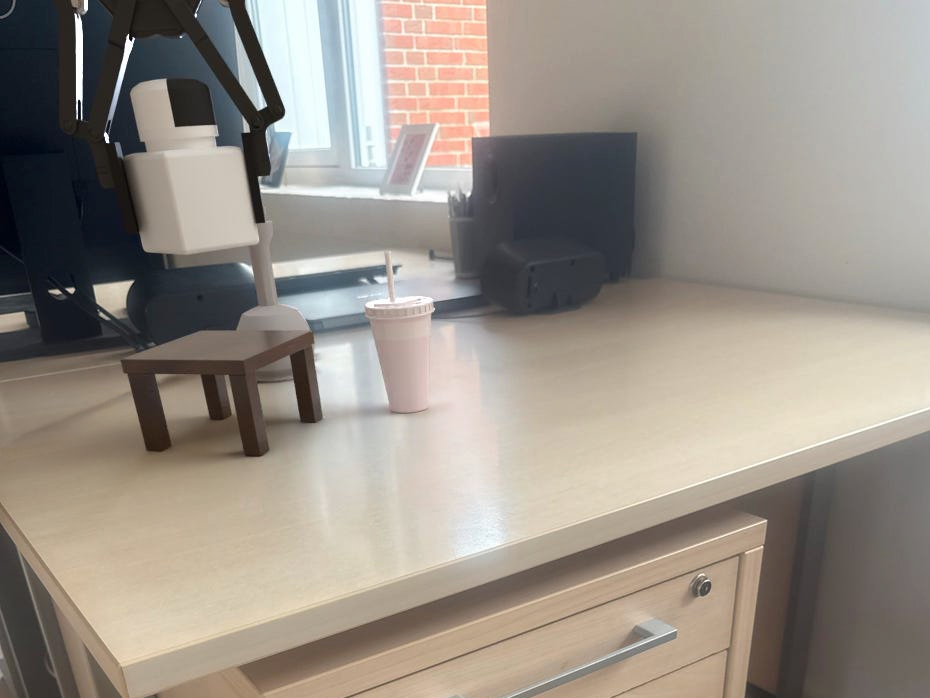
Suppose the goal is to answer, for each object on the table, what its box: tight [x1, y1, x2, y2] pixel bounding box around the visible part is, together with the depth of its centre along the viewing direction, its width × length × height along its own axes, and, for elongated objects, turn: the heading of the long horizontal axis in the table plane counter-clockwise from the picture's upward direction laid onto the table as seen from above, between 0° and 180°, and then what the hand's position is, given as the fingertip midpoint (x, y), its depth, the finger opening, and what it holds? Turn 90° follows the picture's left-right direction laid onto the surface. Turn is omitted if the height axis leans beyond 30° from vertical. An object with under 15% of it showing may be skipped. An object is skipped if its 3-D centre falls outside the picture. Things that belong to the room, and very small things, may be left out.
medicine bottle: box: [123, 77, 259, 256], centre depth 73 cm, size 7×7×12 cm
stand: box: [119, 329, 324, 457], centre depth 81 cm, size 12×12×8 cm
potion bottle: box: [235, 205, 316, 383], centre depth 99 cm, size 9×9×18 cm
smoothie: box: [364, 250, 436, 414], centre depth 84 cm, size 6×6×14 cm
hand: (197, 227), depth 75 cm, fingers closed on medicine bottle, 10 cm apart
